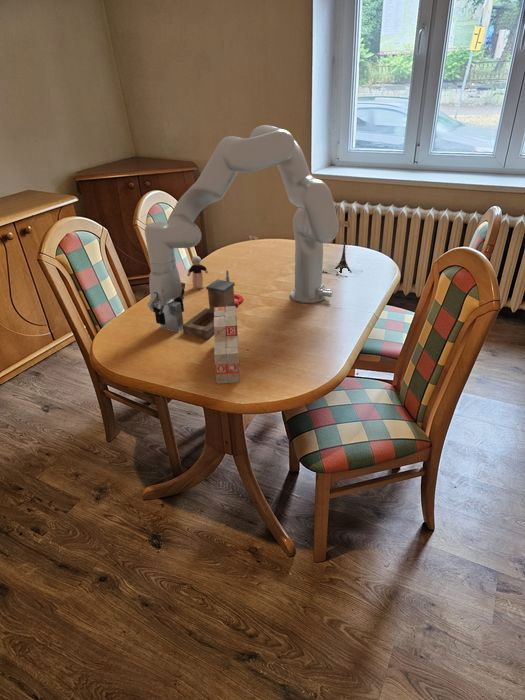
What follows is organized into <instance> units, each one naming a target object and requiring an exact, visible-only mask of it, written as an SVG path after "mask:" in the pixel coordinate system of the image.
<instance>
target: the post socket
mask: <svg viewBox="0 0 525 700" xmlns="http://www.w3.org/2000/svg"><path fill="white" fill-rule="evenodd" d="M229 281H230V280H229ZM229 281H226V280H222V279H219V278H218V279H216V280H214V281H213V282H210V283H209V284H207V286H206V291H207V293H208V294H207V296H208V304H209V305H208V306H209V308H207V307H205V308H204V309H202V310H201V311H200V312H198V313H197V314H196V315H195V316H193V317H192V318H190V319H189V320H187V321H186V322H184V323H183V329H182V331H183V332H182V333H183V334H184V335H188V336H191V337H196V338H199V339H203V340H207V341H208V340H210V338H212V337H213V336H215V332H214V308H215V307H228V306H235V303H234V301H235V298H234V294H235V292H234V291H235V288H234V286H235V283H236V282H233V281H230V282H229ZM208 321H211V322H209V323H208V324H207V325H205V326H202V325H204V324H206V323H207V322H208Z"/></svg>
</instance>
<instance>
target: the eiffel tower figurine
mask: <svg viewBox="0 0 525 700" xmlns="http://www.w3.org/2000/svg"><path fill="white" fill-rule="evenodd" d="M342 247H343V248H342V254H341V258H340V260H339V263H338V264H337V265H336V267H334V269H339V268H340V271H339V272H340V273H342V269H343V268H347V269H348V271H351V270H350V268H349V265H348V263H347V259H346V241H344V242H343V246H342Z"/></svg>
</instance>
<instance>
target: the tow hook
mask: <svg viewBox="0 0 525 700" xmlns="http://www.w3.org/2000/svg"><path fill="white" fill-rule="evenodd" d="M225 273H226V275H225V281H229V282H231V281H230V275H229V273H230V272H229V270H226V271H225ZM234 299H237V300H234V303H235V306H236V308H238V307H239V306H240V305H239V304H242V303H243V302H244V297H243V296H242V295H241V294H237V293H234Z"/></svg>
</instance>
